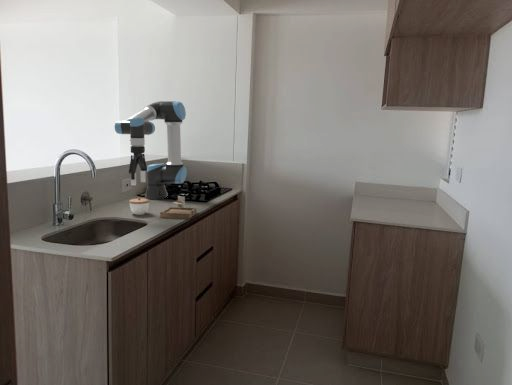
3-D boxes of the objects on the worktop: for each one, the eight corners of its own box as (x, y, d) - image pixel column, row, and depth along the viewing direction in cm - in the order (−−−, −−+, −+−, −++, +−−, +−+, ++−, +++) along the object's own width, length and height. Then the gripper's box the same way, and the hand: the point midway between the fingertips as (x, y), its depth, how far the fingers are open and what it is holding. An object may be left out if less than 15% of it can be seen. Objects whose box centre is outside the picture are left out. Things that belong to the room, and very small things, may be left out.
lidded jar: (132, 216, 234) (132, 199, 232) (127, 212, 243) (127, 196, 241) (151, 214, 239) (151, 198, 238) (145, 210, 248) (145, 195, 247)
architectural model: (180, 209, 255) (180, 197, 254) (172, 208, 259) (172, 196, 258) (185, 209, 258) (184, 197, 256) (177, 207, 262) (176, 195, 260)
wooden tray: (169, 211, 247) (169, 206, 247) (196, 212, 245) (196, 208, 245) (160, 217, 231) (160, 212, 231) (188, 219, 230) (188, 214, 229)
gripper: (139, 144, 247) (140, 180, 251) (121, 146, 223) (122, 186, 226) (152, 144, 246) (152, 181, 250) (135, 147, 222) (136, 187, 225)
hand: (138, 183), depth 238 cm, fingers open, 13 cm apart
